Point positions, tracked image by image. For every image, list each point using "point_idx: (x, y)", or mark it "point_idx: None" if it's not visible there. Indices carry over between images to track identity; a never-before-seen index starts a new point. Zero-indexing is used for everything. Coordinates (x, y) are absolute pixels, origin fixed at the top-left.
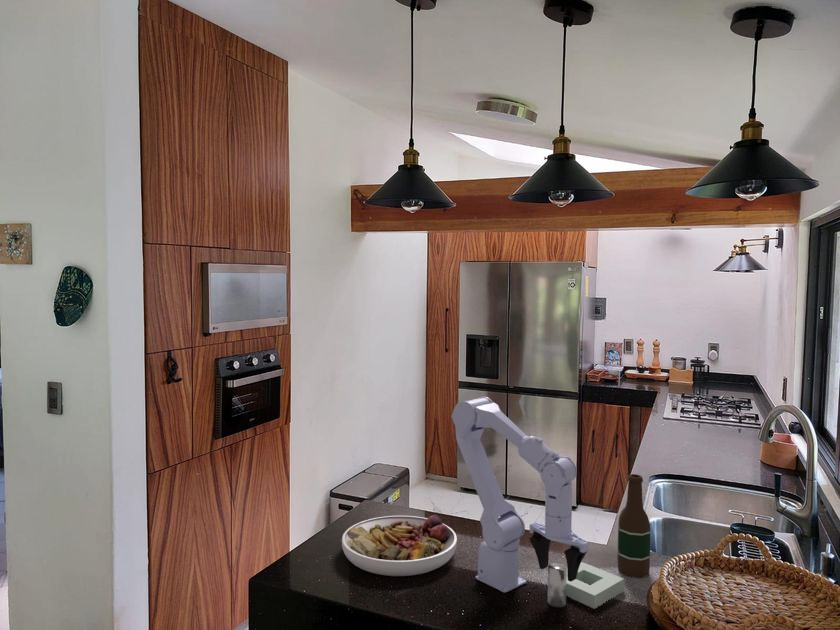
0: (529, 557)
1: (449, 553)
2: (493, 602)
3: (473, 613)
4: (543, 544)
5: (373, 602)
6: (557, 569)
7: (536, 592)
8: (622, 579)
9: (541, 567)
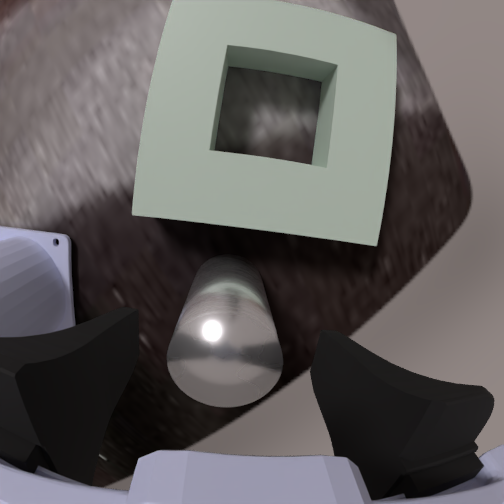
0: (7, 70)
1: None
2: None
3: (113, 450)
4: (81, 436)
5: None
6: (240, 385)
7: (132, 271)
8: (395, 42)
9: (134, 361)
